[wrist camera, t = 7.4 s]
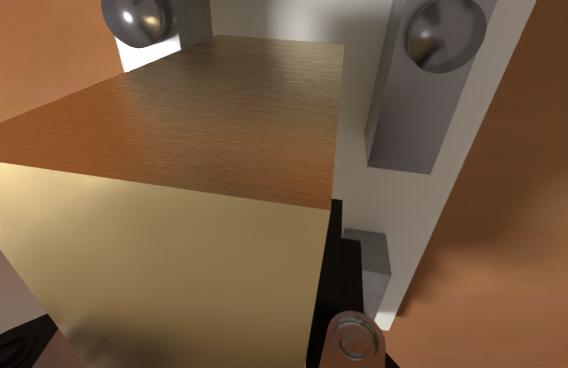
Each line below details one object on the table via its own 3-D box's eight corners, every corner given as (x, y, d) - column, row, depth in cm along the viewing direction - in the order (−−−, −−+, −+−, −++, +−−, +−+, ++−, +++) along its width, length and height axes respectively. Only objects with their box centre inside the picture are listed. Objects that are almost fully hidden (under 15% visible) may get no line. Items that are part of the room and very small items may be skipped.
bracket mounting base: (488, -82, 8) (555, -113, 5) (360, 310, 18) (362, 364, 16) (140, -89, 9) (59, -117, 7) (205, 281, 19) (183, 326, 17)
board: (583, -152, 7) (612, -169, 7) (386, 316, 19) (388, 330, 19) (89, -148, 9) (63, -161, 8) (187, 278, 21) (180, 290, 20)
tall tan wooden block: (344, 43, 8) (331, 210, 2) (306, 306, 15) (279, 512, 9) (218, 34, 8) (-72, 151, 3) (239, 294, 15) (172, 482, 9)
